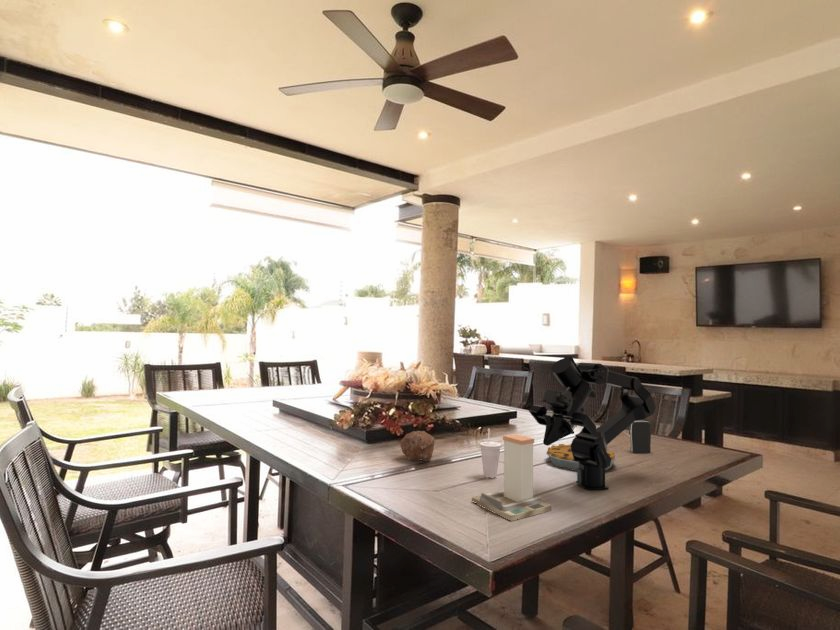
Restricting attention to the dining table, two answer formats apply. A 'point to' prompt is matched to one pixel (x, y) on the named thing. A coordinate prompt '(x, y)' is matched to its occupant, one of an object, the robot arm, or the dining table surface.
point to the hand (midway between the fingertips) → (545, 444)
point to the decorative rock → (418, 445)
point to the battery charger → (640, 437)
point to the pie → (568, 456)
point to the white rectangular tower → (518, 467)
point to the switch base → (511, 505)
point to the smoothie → (490, 456)
